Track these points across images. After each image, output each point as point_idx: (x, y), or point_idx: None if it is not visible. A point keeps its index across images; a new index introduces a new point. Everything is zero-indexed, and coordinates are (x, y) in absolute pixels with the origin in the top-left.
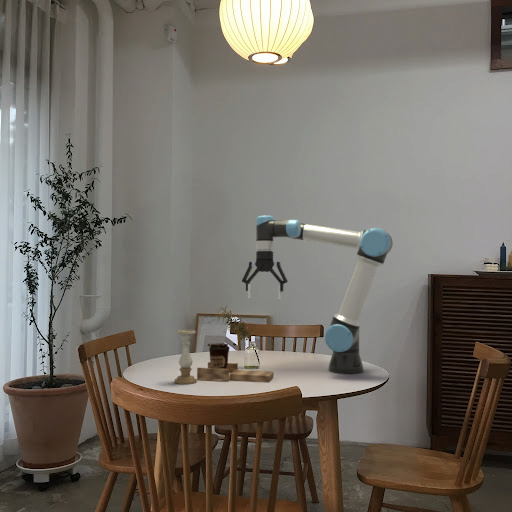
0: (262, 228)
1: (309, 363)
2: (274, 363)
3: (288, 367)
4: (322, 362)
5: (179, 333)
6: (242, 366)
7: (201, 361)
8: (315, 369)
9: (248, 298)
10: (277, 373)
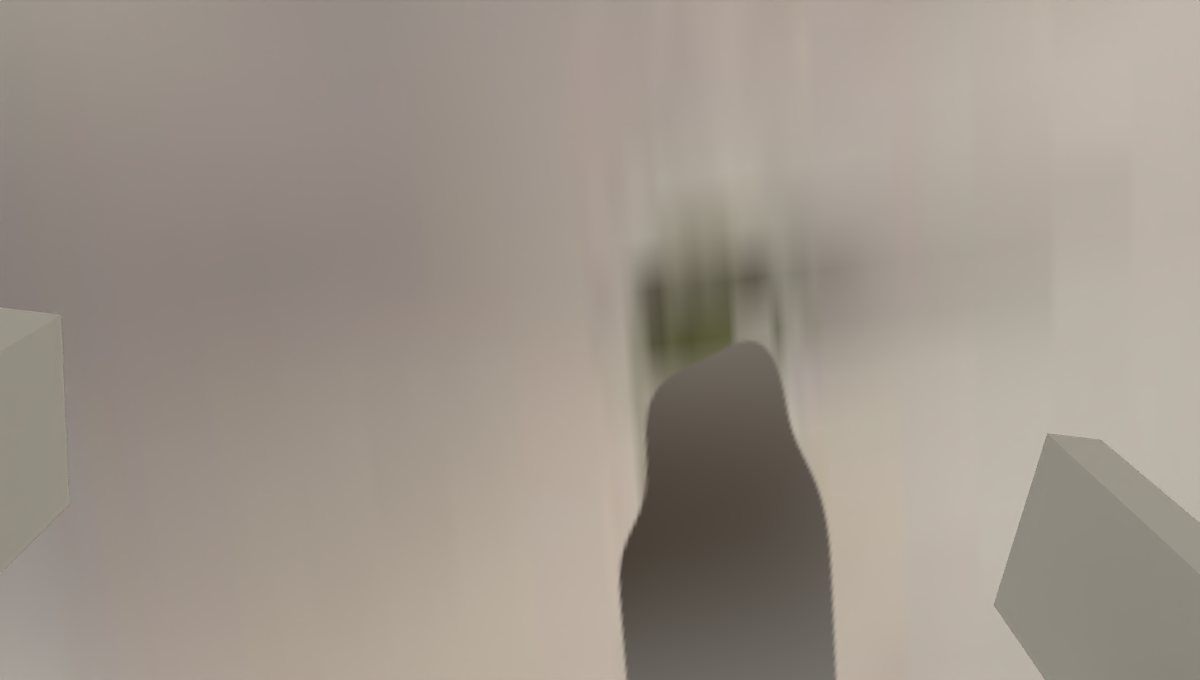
0: None
1: (185, 594)
2: (508, 555)
3: (354, 369)
4: (75, 656)
5: None
6: (798, 367)
7: None
8: (80, 294)
9: (1088, 440)
10: (425, 23)
